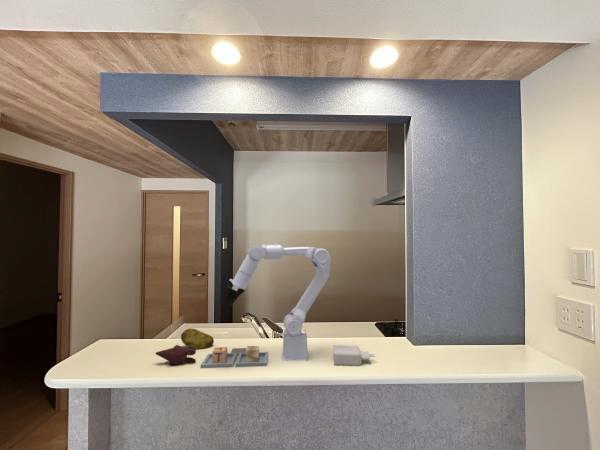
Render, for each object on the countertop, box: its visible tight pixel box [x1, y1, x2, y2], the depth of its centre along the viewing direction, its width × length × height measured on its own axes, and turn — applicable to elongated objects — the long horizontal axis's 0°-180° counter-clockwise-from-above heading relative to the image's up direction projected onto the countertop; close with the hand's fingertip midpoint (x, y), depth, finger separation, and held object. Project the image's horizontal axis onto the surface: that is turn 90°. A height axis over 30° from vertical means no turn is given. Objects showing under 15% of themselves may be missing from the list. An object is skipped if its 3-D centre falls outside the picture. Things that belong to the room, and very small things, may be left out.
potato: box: [180, 328, 215, 350], centre depth 122 cm, size 8×13×8 cm, turn 83°
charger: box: [333, 344, 376, 367], centre depth 106 cm, size 5×9×15 cm
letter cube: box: [211, 346, 228, 363], centre depth 105 cm, size 4×5×5 cm
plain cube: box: [246, 345, 260, 362], centre depth 106 cm, size 4×4×4 cm
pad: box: [230, 347, 247, 356], centre depth 116 cm, size 7×7×1 cm
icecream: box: [155, 344, 197, 366], centre depth 104 cm, size 7×7×15 cm
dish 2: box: [234, 351, 269, 368], centre depth 106 cm, size 11×11×2 cm
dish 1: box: [200, 352, 238, 369], centre depth 105 cm, size 11×11×2 cm
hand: (227, 305), depth 108 cm, fingers open, 7 cm apart
